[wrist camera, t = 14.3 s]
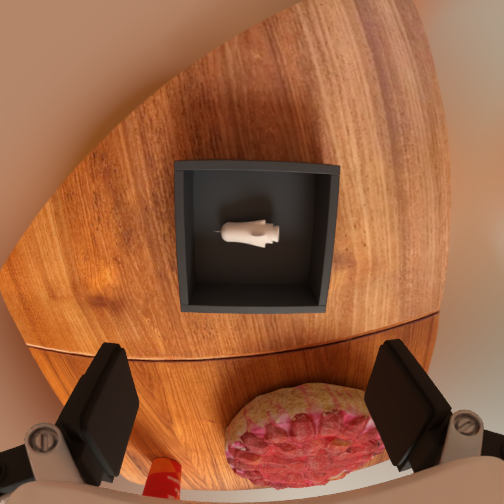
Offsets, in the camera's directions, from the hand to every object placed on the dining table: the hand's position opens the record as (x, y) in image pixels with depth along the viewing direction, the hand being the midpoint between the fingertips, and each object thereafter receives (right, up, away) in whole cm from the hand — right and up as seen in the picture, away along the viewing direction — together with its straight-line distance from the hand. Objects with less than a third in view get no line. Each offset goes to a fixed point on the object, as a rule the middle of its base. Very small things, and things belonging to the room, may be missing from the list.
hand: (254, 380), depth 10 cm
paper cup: (-16, -35, +34) cm, 52 cm away
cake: (+8, -23, +31) cm, 40 cm away
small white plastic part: (-1, +7, +20) cm, 21 cm away
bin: (0, +7, +21) cm, 22 cm away
